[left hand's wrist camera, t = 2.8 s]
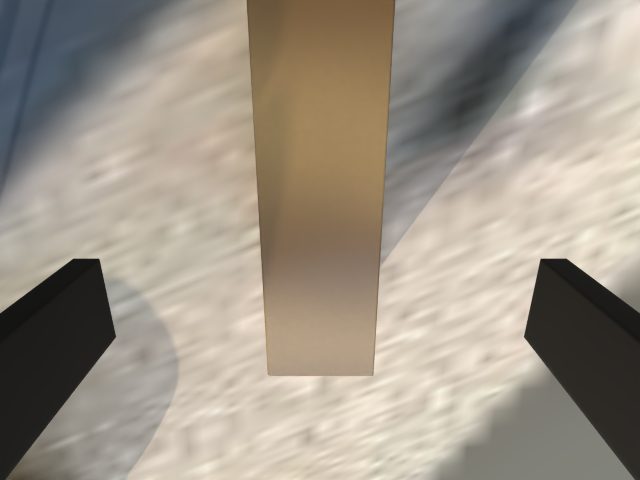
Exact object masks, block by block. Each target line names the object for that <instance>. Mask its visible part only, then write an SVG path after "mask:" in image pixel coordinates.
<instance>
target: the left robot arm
mask: <svg viewBox="0 0 640 480" xmlns="http://www.w3.org/2000/svg"><path fill="white" fill-rule="evenodd" d="M115 338H116V335H115V330H114V325H113V321H112V316H111V311H110V307H109V302H108V297H107V293H106V288H105V283H104V278H103V274H102V269H101V264H100V260H99V259H72V260H71V261H70V262H68V263H67V264H66V265H64V266H63V267H62V268H60V269H59V270H58V271H56V272H55V273H54V274H52V275H51V276H50V277H48V278H47V279H46V280H44V281H43V282H42V283H40V284H39V285H38V286H36V287H35V288H34V289H32V290H31V291H30V292H28V293H27V294H26V295H24V296H23V297H22V298H20V299H19V300H18V301H16V302H15V303H14V304H12V305H11V306H10V307H8V308H7V309H5V310H4V311H3V312H1V313H0V480H5V479H6V478H7V476H8V475H9V474H10V473H11V471H12V470H13V469H14V467H15V466H16V465H17V464H18V462H19V461H20V460H21V458H22V457H23V456H24V455H25V453H26V452H27V451H28V449H29V448H30V447H31V446H32V444H33V443H34V442H35V440H36V439H37V438H38V437H39V435H40V434H41V433H42V431H43V430H44V429H45V428H46V426H47V425H48V424H49V422H50V421H51V420H52V419H53V417H54V416H55V415H56V413H57V412H58V411H59V410H60V408H61V407H62V406H63V404H64V403H65V402H66V401H67V399H68V398H69V397H70V395H71V394H72V393H73V392H74V390H75V389H76V388H77V386H78V385H79V384H80V383H81V381H82V380H83V379H84V377H85V376H86V375H87V374H88V372H89V371H90V370H91V368H92V367H93V366H94V365H95V363H96V362H97V361H98V359H99V358H100V357H101V356H102V354H103V353H104V352H105V350H106V349H107V348H108V347H109V345H110V344H111V343H112V341H113V340H114V339H115ZM524 338H525V339H526V340H527V341H528V343H529V344H530V345H531V347H532V348H533V349H534V350H535V352H536V353H537V354H538V356H539V357H540V358H541V359H542V361H543V362H544V363H545V365H546V366H547V367H548V368H549V370H550V371H551V372H552V374H553V375H554V376H555V377H556V379H557V380H558V381H559V383H560V384H561V385H562V386H563V388H564V389H565V390H566V392H567V393H568V394H569V395H570V397H571V398H572V399H573V401H574V402H575V403H576V404H577V406H578V407H579V408H580V410H581V411H582V412H583V413H584V415H585V416H586V417H587V419H588V420H589V421H590V422H591V424H592V425H593V426H594V428H595V429H596V430H597V431H598V433H599V434H600V435H601V437H602V438H603V439H604V440H605V442H606V443H607V444H608V446H609V447H610V448H611V449H612V451H613V452H614V453H615V455H616V456H617V457H618V458H619V460H620V461H621V462H622V463H623V465H624V466H625V467H626V469H627V470H628V471H629V473H630V474H631V475H632V476H633V478H634V479H635V480H640V313H638V312H637V311H636V310H634V309H633V308H632V307H630V306H629V305H628V304H626V303H625V302H624V301H622V300H621V299H620V298H618V297H617V296H616V295H614V294H613V293H612V292H610V291H609V290H608V289H606V288H605V287H604V286H602V285H601V284H600V283H598V282H597V281H596V280H594V279H593V278H592V277H590V276H589V275H588V274H586V273H585V272H584V271H582V270H581V269H580V268H578V267H577V266H576V265H574V264H573V263H572V262H570V261H569V260H568V259H541V260H540V264H539V269H538V274H537V278H536V283H535V288H534V293H533V297H532V302H531V307H530V311H529V316H528V321H527V325H526V330H525V335H524Z"/></svg>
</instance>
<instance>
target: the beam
mask: <svg viewBox="0 0 640 480" xmlns="http://www.w3.org/2000/svg"><path fill="white" fill-rule="evenodd" d="M394 11H395V0H247V13H248V31H249V49H250V66H251V84H252V102H253V119H254V137H255V155H256V173H257V190H258V208H259V226H260V243H261V261H262V279H263V296H264V314H265V332H266V349H267V367H268V376H373V373H374V356H375V339H376V321H377V304H378V287H379V270H380V252H381V235H382V218H383V201H384V184H385V166H386V149H387V132H388V115H389V97H390V80H391V63H392V46H393V28H394Z"/></svg>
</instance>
